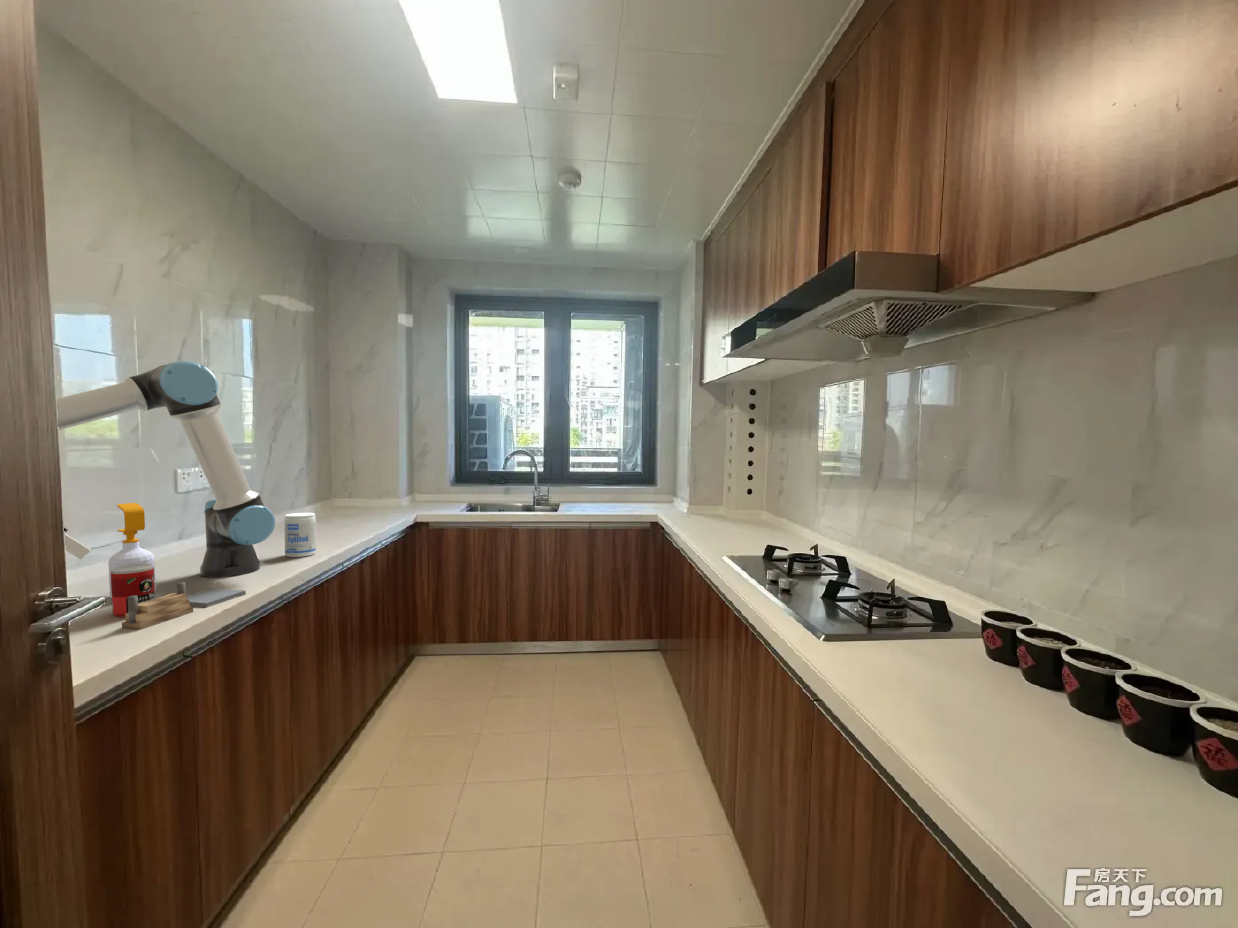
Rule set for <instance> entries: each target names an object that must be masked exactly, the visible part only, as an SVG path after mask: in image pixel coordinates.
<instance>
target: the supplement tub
mask: <svg viewBox="0 0 1238 928" xmlns="http://www.w3.org/2000/svg"><path fill="white" fill-rule="evenodd" d="M316 520H317V518H316V514H315V513H314V512H296V513H293V512H292V513H288V514H285V515H284V555H285V556H286V557H288V558H305V557H310V556H313V555H315V554H316V552H317V532H316V531H317V528H316V527H317V521H316Z"/></svg>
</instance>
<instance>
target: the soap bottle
mask: <svg viewBox="0 0 1238 928" xmlns="http://www.w3.org/2000/svg"><path fill="white" fill-rule="evenodd" d="M116 507H117V508H118V509H120V510H121V511H122V512H123V516H124V518H123V519H124V528H120V529H117V532H119V533H123V535H124V536H126V538H125V539H122V549H120V550H119V551H117V552H116V553H114V554H113V555H112V556H111V557H110V558H109V560H108V562H107V563H108V564H107V565H108V579H109V580H108V581H109V598H110V599H111V600H112V591H111V570H112V569H114V568H116V567H120V566H126V565H133V564H152V565H153V567H154V581H155V592H156V591H157V586H156V566H155V565H156V564H155V562H156V561H155V555H154V554H153V553H152V552H151V551H149V550H147V549H144V548H142V547H140V539H139V538H136V535H137V534H138V531H144V530H145V528H146V521H145V520H146V519H145V516H146V515H145V510H144V508H143V506H141V505H140V504H138V503H137V502H129V503H128V502H127V503H117V505H116Z"/></svg>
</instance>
